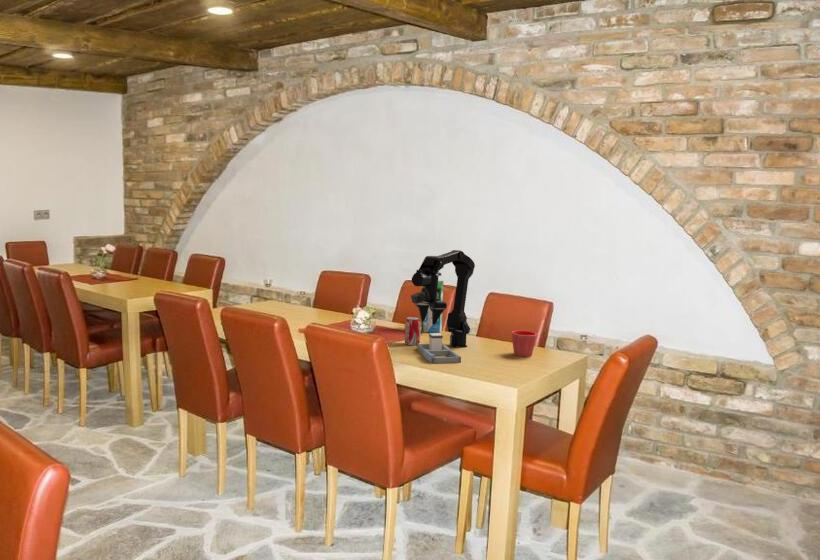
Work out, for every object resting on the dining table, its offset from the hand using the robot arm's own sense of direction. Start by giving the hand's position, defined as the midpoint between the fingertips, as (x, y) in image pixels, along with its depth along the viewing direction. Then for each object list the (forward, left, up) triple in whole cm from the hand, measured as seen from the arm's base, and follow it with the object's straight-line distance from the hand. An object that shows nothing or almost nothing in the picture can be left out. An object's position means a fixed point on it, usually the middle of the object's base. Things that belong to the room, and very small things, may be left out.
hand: (428, 322), depth 295 cm
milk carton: (-16, -49, -14) cm, 54 cm away
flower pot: (-42, +5, -14) cm, 44 cm away
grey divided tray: (-4, +2, -14) cm, 14 cm away
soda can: (+1, -21, -14) cm, 25 cm away
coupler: (-5, -4, -14) cm, 15 cm away
